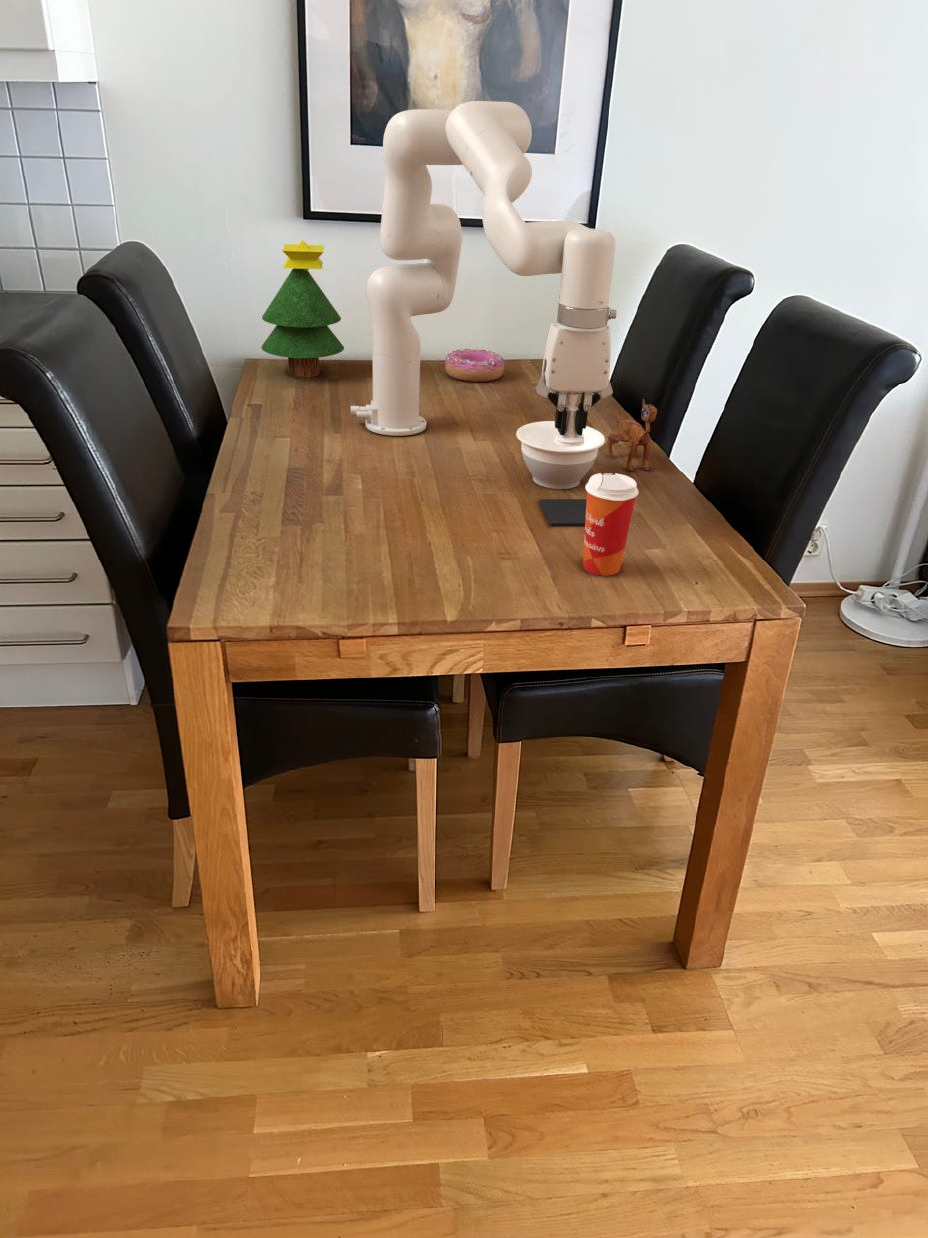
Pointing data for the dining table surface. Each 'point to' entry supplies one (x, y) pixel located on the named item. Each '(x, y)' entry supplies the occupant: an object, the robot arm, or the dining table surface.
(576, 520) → the coaster
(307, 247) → the decorative tree
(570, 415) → the chess piece
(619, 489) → the paper cup
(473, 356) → the donut
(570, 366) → the robot arm
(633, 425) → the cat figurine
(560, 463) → the bowl
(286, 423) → the dining table surface
